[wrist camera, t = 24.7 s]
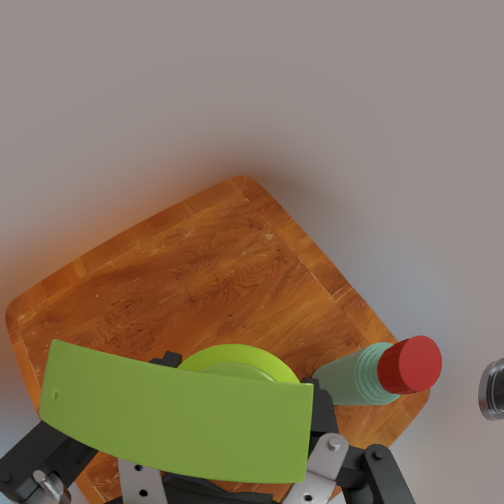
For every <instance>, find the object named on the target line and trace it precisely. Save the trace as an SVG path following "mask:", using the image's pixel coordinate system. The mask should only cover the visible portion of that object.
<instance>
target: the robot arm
mask: <svg viewBox="0 0 504 504" xmlns="http://www.w3.org/2000/svg"><path fill="white" fill-rule="evenodd" d="M148 363H152V364H157V365H162V366H167V367H172V368H177V367H178V366H179V365H180V364H181V363H182V355H181V354H177V353H174V352H170V351H167V352H166V353H165V355H164V357H163V359H158V358H154V359H152V360H151V361H149V362H148ZM301 383H311V384H314V388H313V403H312V416H311V427H310V438H309V448H308V457H307V466H306V474H305V480H304V482H303V483H292V484H291V486H290V487H289V489H288V490H287V492H286V494H285V495H284V497H283V498H282V499H281V501H280V502H276V501H273V500H272V499H273V494H262V493H253V492H238V493H220V492H217V491H215V490H212V489H210V488H208V487H205V486H203V485H201V484H199V483H196V482H192V481H188V480H184V479H180V478H176V477H172V479H171V482H162V478H161V474H160V470H158V469H154V468H150V467H146V466H142V465H139V464H136V463H132V462H129V461H126V460H123V459H120V458H117V459H118V468H119V476H120V484H121V491H122V496H120V497H118V498H116V499H113V500H111V501H109V502H106V503H104V504H327V502H328V500H329V498H330V496H331V494H332V492H333V490H334V487H335V485H337V486H341V488H342V491H343V495H344V498H345V501H346V504H416V503H415V501H414V499H413V497H412V495H411V493H410V490H409V488H408V486H407V484H406V482H405V480H404V478H403V476H402V474H401V472H400V470H399V467H398V465H397V463H396V461H395V459H394V457H393V455H392V453H391V451H390V450H389V449H388V448H387V447H385V446H383V445H380V444H373V445H370V446H368V447H367V448H366V450H364V449H360V448H357V447H353V446H350V445H349V444H348V441H347V440H346V439H345V438H344V437H343V436H341V435H339V431H338V426H337V421H336V416H335V412H334V406H333V401H332V397H331V395H330V394H329V393H328V391H327V390H323V389H320V385H319V380H318V379H312V378H303V379H302V381H301ZM490 395H491V403H492V406H493V408H494V410H495V411H496V412H498V413H504V365H501V366H500V367H499V368H498V369H497V370H496V372H495V374H494V376H493V379H492V383H491V392H490ZM98 451H99V450H97V449H94V448H92V447H90V446H88V445H86V444H83V443H81V442H79V441H77V440H75V439H73V438H71V437H70V436H68V435H66V434H64V433H62V432H61V431H59V430H57V429H55V428H54V427H52V426H50V425H49V424H47V423H46V422H44V421H43V420H42V421H41V422H40V423H39V424H38V425H37V426H36V427H34V428H33V429H32V430H31V431H30V432H29V433H28V434H27V435H26V436H25V437H24V438H23V439H21V440H20V441H19V442H18V443H17V444H16V445H15V446H14V447H13V448H12V449H11V450H10V451H9V452H8V453H6V454H5V456H3V457H2V458H1V459H0V492H2V493H3V494H4V495H5V496H6V497H7V498H8V499H9V500H10V501H11V502H12V503H14V504H70V503H71V495H70V492H69V491H68V488H69V486H70V485H71V484H72V483H73V482H74V480H75V479H76V478H77V477H78V476H79V474H80V473H81V472H82V471H83V470H84V468H85V467H86V466H87V465H88V463H89V462H90V461H91V460H92V459H93V457H94V456H95V455H96V454H97V453H98Z"/></svg>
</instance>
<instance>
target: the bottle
mask: <svg viewBox="0 0 504 504" xmlns="http://www.w3.org/2000/svg"><path fill="white" fill-rule="evenodd" d="M392 345H394V344H391V343H385V342H381V343H375V344H373V345H370V346H368V347H366V348H364V349H361V350H359V351H357V352H354V353H352V354H350V355H347V356H345V357H343V358H340V359H338V360H335V361H333V362H330V363H328V364H325V365H323V366H321V367H319V368H318V369H317V370H316V371H315V372H314V374H313V376H312V379H318V380H319V385H320V389H323V390H327V391H328V393H329V394H330V395H331V397H332V401H333V405H384V404H388V403H390V402H393V401H394V400H396V399H397V398H398V397H400V396H401V395H398V394H392V393H389V392H387V391H386V390H385V389H384V388H383V387H382V386H381V384H380V382H379V380H378V376H377V366H378V362H379V359H380V357H381V355H382V354H383V352H384V351H385V350H386V349H388V348H389V347H391V346H392Z"/></svg>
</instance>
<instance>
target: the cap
mask: <svg viewBox="0 0 504 504" xmlns="http://www.w3.org/2000/svg"><path fill="white" fill-rule="evenodd" d="M441 368H442V358H441V353H440V351H439V348H438V346H437V345H436V344H435V342H434V341H433V340H431V339H430V338H428V337H426V336H415V337H412V338H410V339H406V340H404V341H401V342H399V343H396V344H394V345H392V346H391V347H389V348H388V349H386V350H385V351H384V352H383V354H382V355H381V357H380V359H379V362H378V366H377V376H378V380H379V382H380V384H381V386H382V387H383V388H384V389H385V390H386V391H387V392H389V393H392V394H398V395H402V394H410V393H417V392H419V391H424V390H427V389H429V388H430V387H431V386H433V385H434V383H435V382H436V381H437V379H438V378H439V375H440V372H441Z"/></svg>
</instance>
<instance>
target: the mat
mask: <svg viewBox="0 0 504 504" xmlns="http://www.w3.org/2000/svg"><path fill="white" fill-rule="evenodd" d="M172 477H176V478H180V479H184V480H188V481H192V482H196V483H199V484H201V485H203V486H205V487H208V488H210V489H212V490H215V491H217V492H220V493H228V492H226V491H224V490H223V489H221V488H219V487H217V486H215V485H213V484H212V483H210V482H208V481H207V480H205V479H203V478H198V477H192V476H186V475H181V474H176V473H171V472H168V473H167V474H166V475H165V476H164V478H163V479H162V482H171V479H172Z"/></svg>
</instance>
